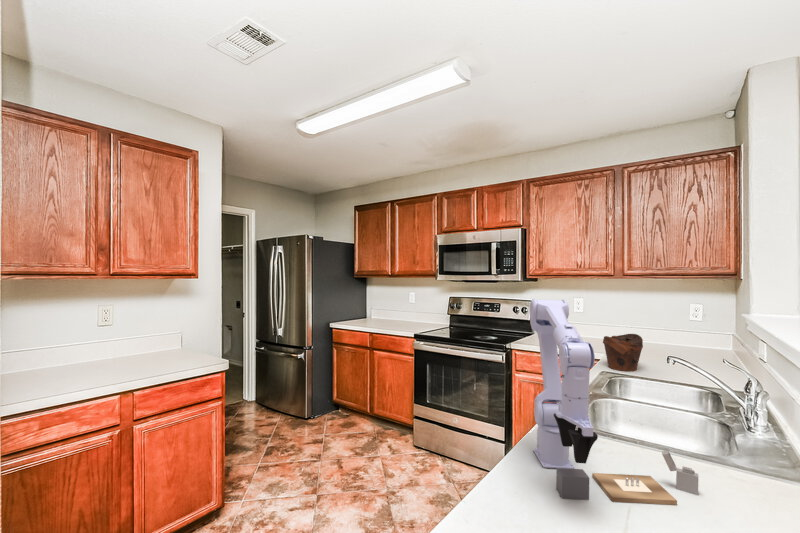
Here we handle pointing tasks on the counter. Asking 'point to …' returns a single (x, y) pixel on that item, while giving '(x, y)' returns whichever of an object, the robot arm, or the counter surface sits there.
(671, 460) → the lighter
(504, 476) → the counter surface
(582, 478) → the block
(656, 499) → the board
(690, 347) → the counter surface
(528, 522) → the counter surface
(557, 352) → the robot arm
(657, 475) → the counter surface
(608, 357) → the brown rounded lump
